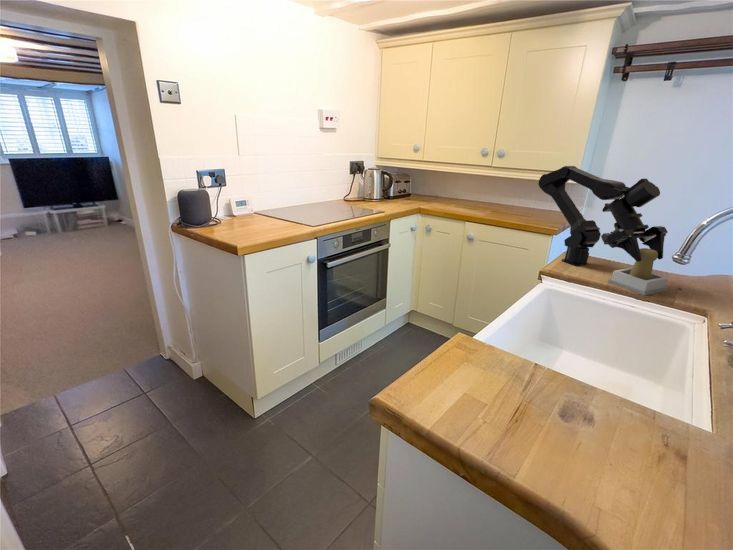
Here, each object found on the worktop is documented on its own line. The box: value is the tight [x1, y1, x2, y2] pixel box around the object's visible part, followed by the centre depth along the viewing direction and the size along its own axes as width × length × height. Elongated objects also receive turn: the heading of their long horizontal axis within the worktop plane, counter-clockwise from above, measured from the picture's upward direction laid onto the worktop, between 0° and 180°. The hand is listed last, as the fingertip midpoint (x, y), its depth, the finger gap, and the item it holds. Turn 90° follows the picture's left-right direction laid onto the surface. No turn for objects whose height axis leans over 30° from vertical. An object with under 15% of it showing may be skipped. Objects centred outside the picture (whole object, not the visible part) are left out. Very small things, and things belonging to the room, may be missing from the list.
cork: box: [629, 247, 658, 280], centre depth 108 cm, size 6×6×11 cm
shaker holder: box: [607, 267, 669, 296], centre depth 110 cm, size 11×11×4 cm
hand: (650, 260), depth 106 cm, fingers open, 9 cm apart
